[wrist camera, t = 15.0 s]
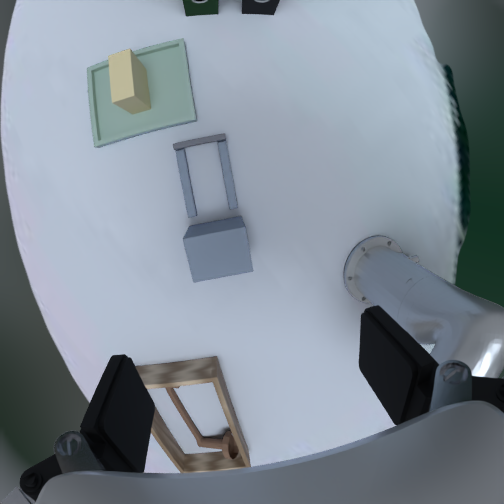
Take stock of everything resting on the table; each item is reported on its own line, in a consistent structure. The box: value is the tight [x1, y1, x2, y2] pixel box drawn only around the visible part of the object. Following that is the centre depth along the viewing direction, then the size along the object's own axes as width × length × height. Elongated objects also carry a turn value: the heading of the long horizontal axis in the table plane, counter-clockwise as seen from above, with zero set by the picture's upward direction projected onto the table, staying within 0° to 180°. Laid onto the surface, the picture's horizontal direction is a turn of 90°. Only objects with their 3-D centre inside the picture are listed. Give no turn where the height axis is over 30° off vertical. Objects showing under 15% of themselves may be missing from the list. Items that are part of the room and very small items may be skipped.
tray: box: [87, 38, 197, 148], centre depth 35 cm, size 16×14×2 cm
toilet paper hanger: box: [166, 386, 239, 459], centre depth 53 cm, size 25×9×8 cm, turn 13°
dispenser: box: [173, 134, 253, 282], centre depth 38 cm, size 8×18×8 cm, turn 9°
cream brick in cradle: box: [108, 49, 151, 114], centre depth 31 cm, size 3×7×9 cm, turn 9°
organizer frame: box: [135, 356, 251, 473], centre depth 52 cm, size 18×34×6 cm, turn 9°
